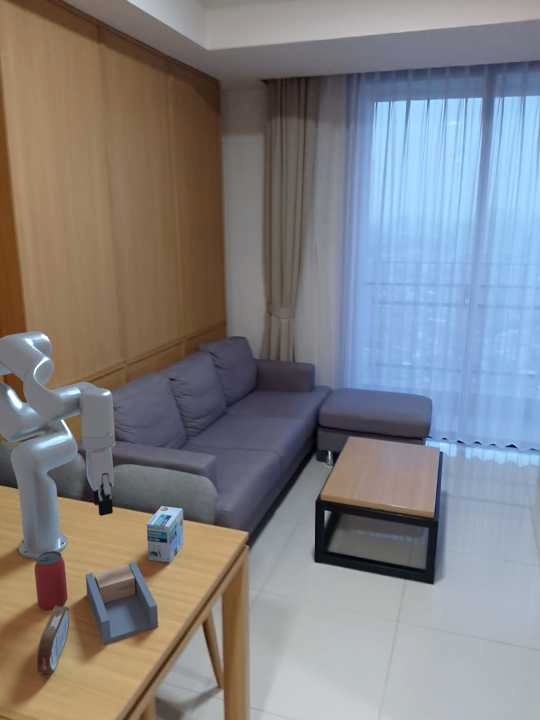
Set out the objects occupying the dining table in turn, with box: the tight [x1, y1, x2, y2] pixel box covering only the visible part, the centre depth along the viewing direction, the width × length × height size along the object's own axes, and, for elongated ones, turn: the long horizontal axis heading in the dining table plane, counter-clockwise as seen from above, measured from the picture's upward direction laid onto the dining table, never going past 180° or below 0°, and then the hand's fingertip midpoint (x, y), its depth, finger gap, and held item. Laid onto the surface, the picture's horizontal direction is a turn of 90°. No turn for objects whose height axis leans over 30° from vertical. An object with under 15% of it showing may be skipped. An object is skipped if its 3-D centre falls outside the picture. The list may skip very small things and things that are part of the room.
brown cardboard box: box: [93, 564, 135, 603], centre depth 135 cm, size 6×8×4 cm
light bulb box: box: [146, 505, 185, 563], centre depth 153 cm, size 11×7×11 cm, turn 168°
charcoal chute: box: [85, 561, 159, 645], centre depth 130 cm, size 19×12×6 cm, turn 28°
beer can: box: [34, 551, 68, 611], centre depth 132 cm, size 7×7×12 cm
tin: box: [36, 605, 70, 674], centre depth 116 cm, size 15×3×8 cm, turn 5°
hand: (103, 508), depth 138 cm, fingers open, 5 cm apart
